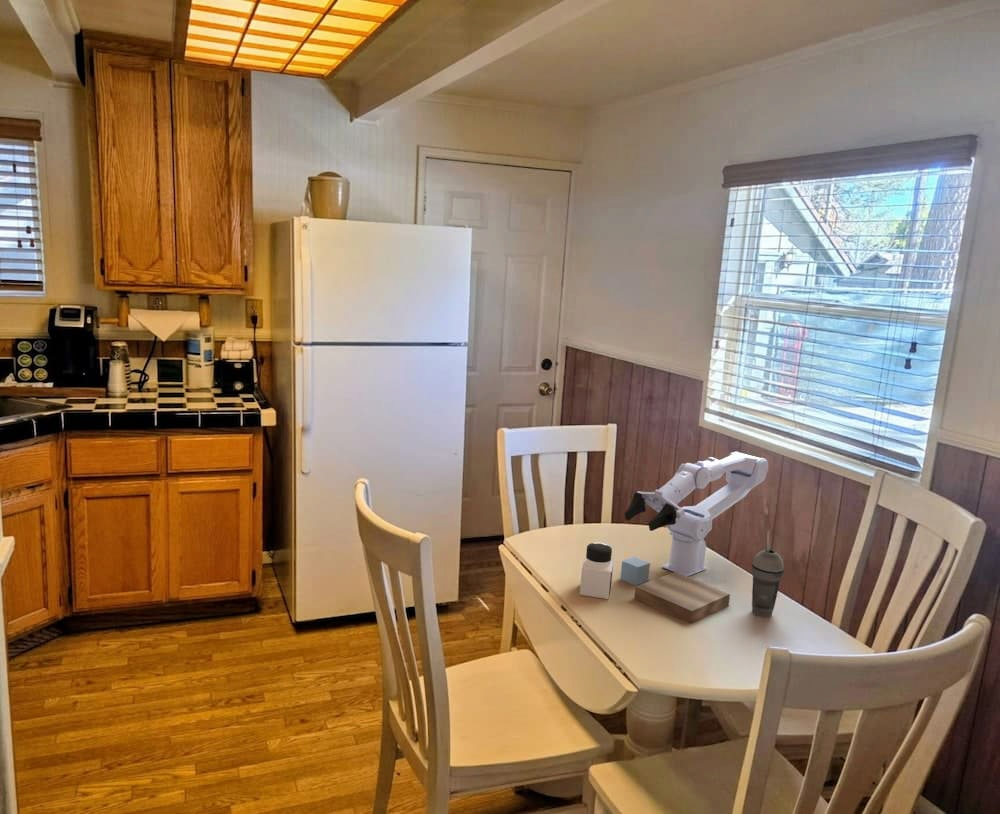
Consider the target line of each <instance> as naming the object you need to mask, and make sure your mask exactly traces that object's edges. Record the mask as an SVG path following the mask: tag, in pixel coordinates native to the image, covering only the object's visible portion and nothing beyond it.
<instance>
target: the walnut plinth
mask: <svg viewBox="0 0 1000 814" xmlns="http://www.w3.org/2000/svg"><path fill="white" fill-rule="evenodd" d="M730 598H731V594H730V593H729V592H727V591H723V590H720V589H719V588H716V587H713V586H711V585H709V584H706V583H704V582H700V581H698V580H696V579H694V578H691V577H690V576H688V577H686V576H683V575H681V574H678V573H676V572H673V571H672V572H671V573H668V574H665V575H663V576H660V577H657V578H654V579H652V580H650V581H649V580H648V581H647V582H645V583H642V584H639V585H637V586H635V587H634V599H635V600H637V601H640V602H642V603H644V604H646V605H648V606H650V607H653V608H655V609H657V610H659V611H662V612H664V613H666V614H668V615H671V616H673V617H676V618H678V619H679V620H682V621H684V622H687V623H689V624H693V623H694V622H696V621H699V620H701V619H703V618H706V617H707V616H709V615H712V614H715V612H718V611H720V610H722V609H725V608H727V607H729V606H730Z"/></svg>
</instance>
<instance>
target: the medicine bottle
mask: <svg viewBox="0 0 1000 814" xmlns="http://www.w3.org/2000/svg"><path fill="white" fill-rule="evenodd" d="M612 553H613V548H612V546H610V545H609V544H606V543H604V542H599V541H597V542H591V543H589V544H587V546H586V553H585V554H586V555H585V558H584V559H583V563H582V567H581V576H580V586H579V587H580V588H579V595H580V596H585V597H592V598H596V599H597V598H598V599H605V600H609V599H610V595H611V591H612V590H611V589H612V581H613V571H614V570H613V569H614V561H612Z"/></svg>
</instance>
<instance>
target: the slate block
mask: <svg viewBox="0 0 1000 814" xmlns="http://www.w3.org/2000/svg"><path fill="white" fill-rule="evenodd" d="M650 567H651V563H650V562H648V561H646V560H643V559H641V558H638V557H637V556H636V557H635V556H633V557H630V558H625V559H624V560H622V561H621V568H620V570H621V572H620V580H622V581H624V582H626V583H629V584H631V585H633V586H635V587H636V586H638V585H641V584H644V583H646V582H649V579H650V578H649V576H650V569H651V568H650Z"/></svg>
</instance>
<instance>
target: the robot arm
mask: <svg viewBox="0 0 1000 814" xmlns="http://www.w3.org/2000/svg"><path fill="white" fill-rule="evenodd" d="M768 471H769V463H768V460H767V459H766V458H765V457H764V458H763V457H758V456H754V455H749V454H746V453H742V452H740V451H734V452H733V451H732V452H730V453H729V455H728V456H726V457H724V458H722V459H717V458H716V457H712V456H709V457H707V459H705V460H702V461H701V460H698V461H696V463H690V462H686V463H681V464H680V466H678V469H677V471H676V472H675V473H674V475H673V477H672V478H671V479H670V480H669V481H667V482H666V483H665V484H664V485H663V486H661V487H660V488H659V489H658V488H657V489H655V490H654V491H651V492H649V491H639V490H638V491H636V492H634V493H633V497H632V500H631V502H630V505H628V506H629V507H628V508H626V511H625V512H624V515H623V516H624V518H625V521H630V520H632V519H633V518H634V517H635V516H637V515H640V514H641V513H645V512H646V511H647V509H646V505H648V506H649V507H650V508H652V509H653V510H654V511H656V512H657V515H655V516H654V517H653V518H652V519H651V520H650V521H649V522H648V530H649V531H651V532H653V531H655V530H657V529H659V528H662V527H665V526H667V529H668V531H670V532H669V535H670V536H672V538H671V544H670V545H671V546H670V554H669V562H668V563H666V564H663V565H662V568H663V569H666V570H668V571H670V572H672V573H673V572H676V573H678V574H681V575H683V576H686V577H690V576H693V575H695V574H697V573H700V572H703V571H706V570H707V567H706V566H705V559H706V551H707V550H706V549H707V544H706V541H705V539H706V537H707V535H708V533H710V531H711V530H712V528H713V520H714V519H715V518H716V517H718V516H719V515H721V514H723V512H725V511H727V510H728V509H730V508H731V507H732V506H733V505H735V504H737V503H738V502H739V501H741V500H742V499H744V498H745V497H746V496H747V495H748V494H749V492H750V491H752V489H754V488H755V487H756V486H759V484H761V483H763V482H764V481H765V479H766V476H767V474H768ZM724 473H726V476H725V481H726V483H727V484H725V485H724V486H723V487H721V488H719V489H718V490H717V491H715V492H713V494H711V495H709V496H707V497H706V498H705V499H703V500H702V501H700V502H699V503H697V504H696V505H689V506H688V505H687V506H682V507H681V506H679V505H678V504H679V503H680V502H682V501H683V500H684V499H685V498H686V497H688V495H690V494H691V493H692V492H693V491H694V490H695V489H700V490H701V489H702V490H703V489H705V488H706V487H707V485H708V484H709V483H711V482H713V481H717V480H719V479H721V478H722V477H723V475H724Z"/></svg>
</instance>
